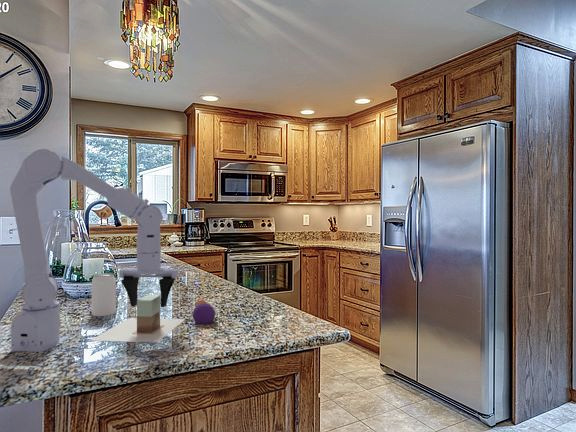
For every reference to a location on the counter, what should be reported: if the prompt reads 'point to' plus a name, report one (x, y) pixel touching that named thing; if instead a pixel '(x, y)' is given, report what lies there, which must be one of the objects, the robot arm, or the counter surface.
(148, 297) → the sage brick
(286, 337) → the counter surface
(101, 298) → the can
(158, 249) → the robot arm
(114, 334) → the baseplate
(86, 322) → the counter surface
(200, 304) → the kendama
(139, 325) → the walnut brick
